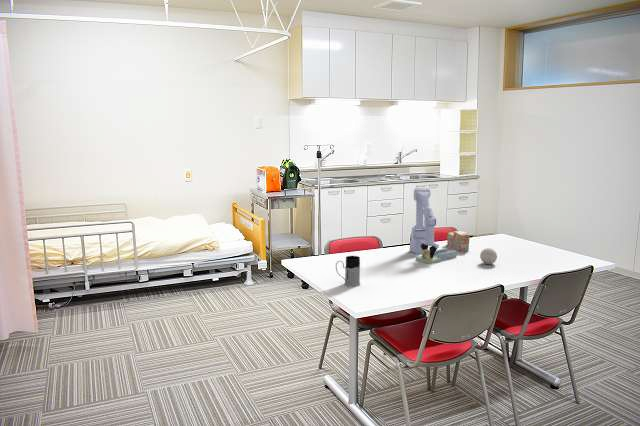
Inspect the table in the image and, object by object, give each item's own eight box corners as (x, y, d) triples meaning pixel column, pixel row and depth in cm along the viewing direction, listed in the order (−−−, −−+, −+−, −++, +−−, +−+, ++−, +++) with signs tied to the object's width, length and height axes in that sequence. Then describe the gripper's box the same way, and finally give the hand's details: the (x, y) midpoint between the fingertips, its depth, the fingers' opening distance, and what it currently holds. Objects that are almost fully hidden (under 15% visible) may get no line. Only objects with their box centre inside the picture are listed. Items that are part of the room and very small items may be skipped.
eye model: (481, 265, 321) (482, 250, 319) (478, 261, 331) (479, 246, 329) (497, 266, 320) (499, 250, 318) (494, 262, 329) (495, 246, 328)
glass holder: (363, 285, 280) (363, 258, 277) (338, 288, 275) (338, 261, 273) (356, 281, 288) (357, 254, 286) (332, 283, 283) (333, 256, 281)
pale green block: (415, 260, 333) (416, 253, 332) (444, 254, 348) (444, 247, 348) (429, 264, 323) (430, 257, 323) (458, 257, 339) (458, 251, 338)
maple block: (421, 257, 331) (422, 250, 330) (427, 256, 334) (427, 249, 333) (427, 259, 327) (428, 251, 326) (433, 258, 330) (433, 250, 329)
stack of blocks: (446, 245, 374) (447, 228, 372) (454, 244, 376) (455, 228, 373) (460, 252, 354) (461, 234, 352) (468, 252, 355) (469, 234, 353)
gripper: (416, 234, 332) (415, 255, 334) (433, 238, 320) (432, 260, 322) (424, 233, 336) (423, 253, 338) (441, 237, 324) (440, 258, 326)
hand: (428, 256), depth 330 cm, fingers closed on maple block, 5 cm apart
